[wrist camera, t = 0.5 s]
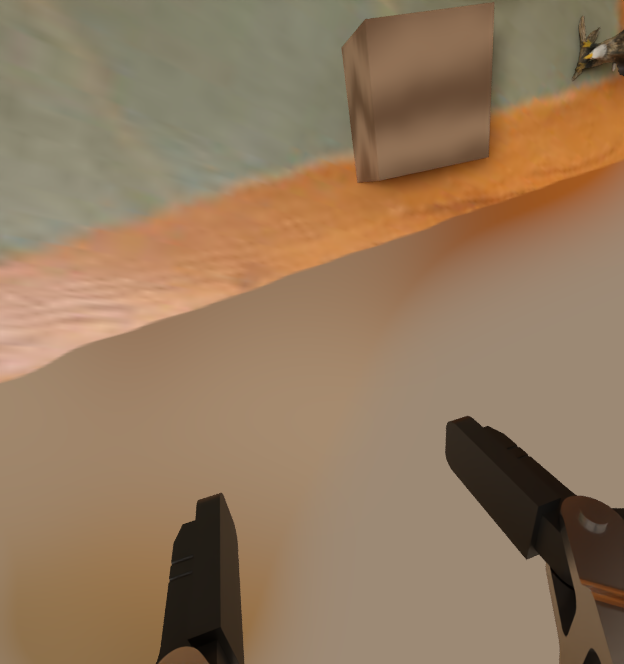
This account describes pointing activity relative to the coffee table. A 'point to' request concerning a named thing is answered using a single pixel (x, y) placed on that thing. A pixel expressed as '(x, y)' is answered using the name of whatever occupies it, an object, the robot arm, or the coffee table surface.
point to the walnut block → (419, 90)
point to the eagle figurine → (599, 51)
